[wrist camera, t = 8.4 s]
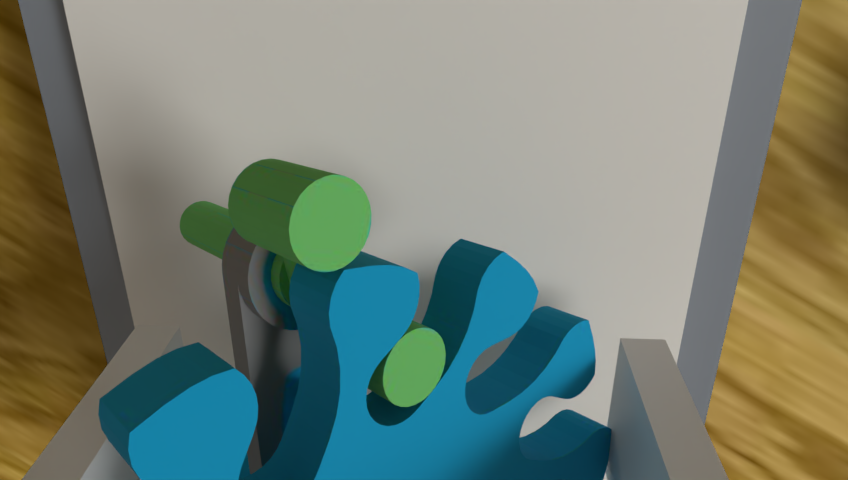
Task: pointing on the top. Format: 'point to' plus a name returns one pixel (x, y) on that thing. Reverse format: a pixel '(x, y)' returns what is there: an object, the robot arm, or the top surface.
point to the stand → (429, 149)
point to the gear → (355, 357)
